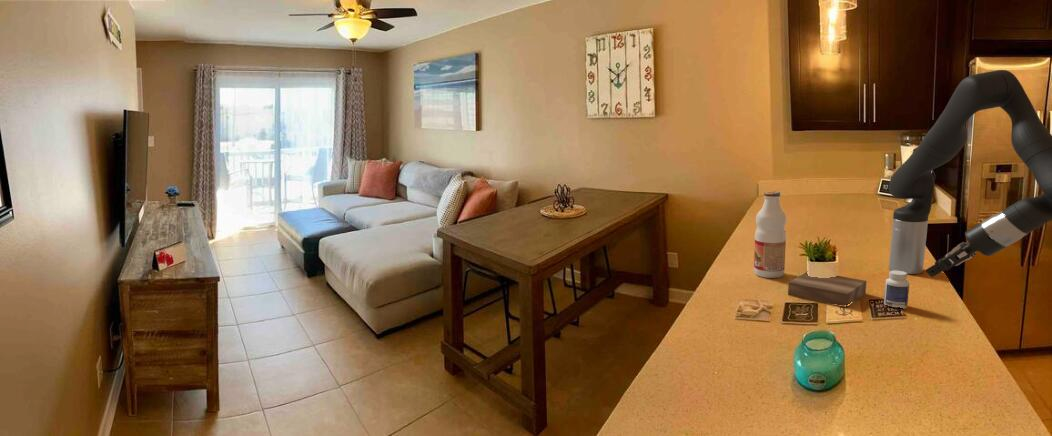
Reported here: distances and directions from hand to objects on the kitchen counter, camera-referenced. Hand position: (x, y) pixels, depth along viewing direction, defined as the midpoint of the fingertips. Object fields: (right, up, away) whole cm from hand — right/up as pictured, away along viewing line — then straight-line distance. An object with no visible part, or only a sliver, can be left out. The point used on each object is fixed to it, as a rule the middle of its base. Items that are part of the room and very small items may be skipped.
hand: (933, 269), depth 140 cm
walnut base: (-17, -9, +19) cm, 27 cm away
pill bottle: (-4, -11, +8) cm, 14 cm away
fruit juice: (-25, -6, +40) cm, 48 cm away
